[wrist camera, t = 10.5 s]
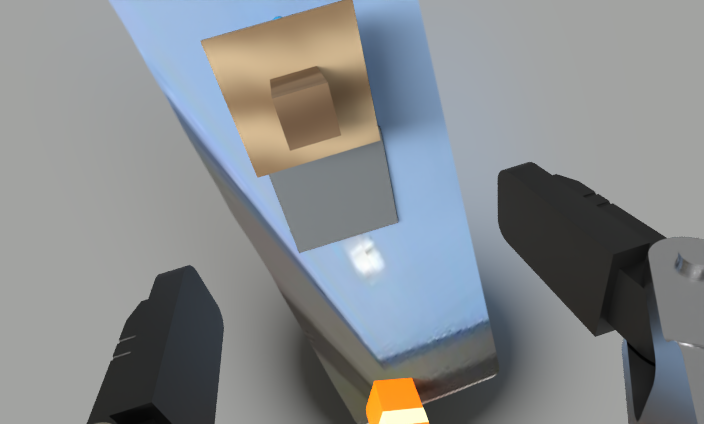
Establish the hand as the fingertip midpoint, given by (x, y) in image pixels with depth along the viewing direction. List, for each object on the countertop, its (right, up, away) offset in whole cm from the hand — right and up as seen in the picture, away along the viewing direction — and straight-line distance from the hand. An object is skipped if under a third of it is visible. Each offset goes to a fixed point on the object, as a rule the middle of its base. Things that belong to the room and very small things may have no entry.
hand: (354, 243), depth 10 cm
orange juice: (+7, -34, +64) cm, 73 cm away
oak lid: (-5, +11, +23) cm, 26 cm away
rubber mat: (-2, +3, +38) cm, 38 cm away
